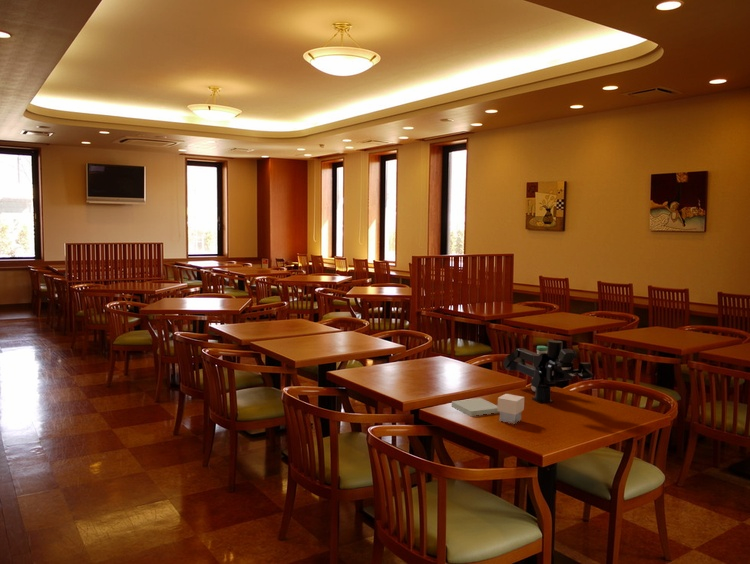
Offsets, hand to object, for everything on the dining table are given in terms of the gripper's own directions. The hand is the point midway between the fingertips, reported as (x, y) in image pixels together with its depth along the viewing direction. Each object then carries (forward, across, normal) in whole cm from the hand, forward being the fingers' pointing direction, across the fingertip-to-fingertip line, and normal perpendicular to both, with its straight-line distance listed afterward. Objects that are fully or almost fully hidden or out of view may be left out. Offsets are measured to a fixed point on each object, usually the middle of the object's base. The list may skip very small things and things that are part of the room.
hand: (582, 377), depth 230 cm
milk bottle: (-39, +8, +17) cm, 44 cm away
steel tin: (-5, -27, +17) cm, 32 cm away
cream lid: (-5, -27, +13) cm, 30 cm away
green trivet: (-21, -33, +17) cm, 43 cm away
